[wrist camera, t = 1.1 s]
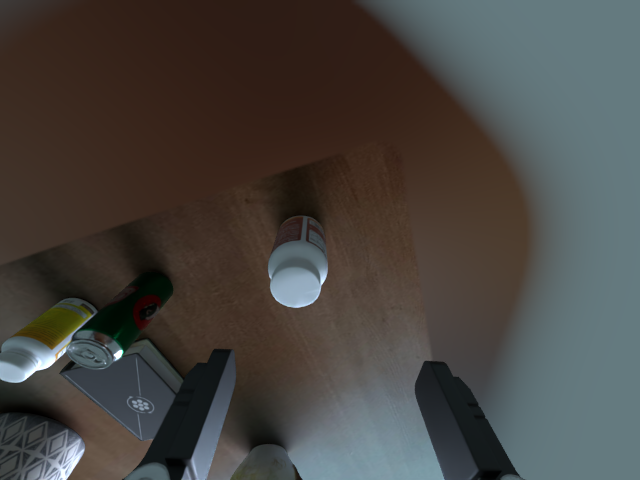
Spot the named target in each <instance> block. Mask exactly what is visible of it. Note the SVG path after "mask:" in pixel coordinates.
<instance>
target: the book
mask: <svg viewBox="0 0 640 480" xmlns="http://www.w3.org/2000/svg"><path fill="white" fill-rule="evenodd" d="M59 374H61V375H62V376H63V377H64V378H65V379H67V380H68V381H69V382H70V383H71V384H73V385H74V386H75V387H76V388H77V389H79V390H80V391H81V392H82V393H84V394H85V395H86V396H87V397H88V398H90V399H91V400H92V401H93V402H94V403H96V404H97V405H98V406H99V407H100V408H102V409H103V410H104V411H105V412H107V413H108V414H109V415H110V416H111V417H113V418H114V419H115V420H116V421H117V422H119V423H120V424H121V425H122V426H123V427H125V428H126V429H127V430H128V431H130V432H131V433H132V434H133V435H134V436H136V437H137V438H138V439H139V440H140V441H144V440H149V439H154V438H155V436H156V434H157V432H158V430H159V428H160V426H161V424H162V422H163V420H164V418H165V416H166V414H167V412H168V410H169V408H170V406H171V404H173V400H174V398H175V396H176V394H177V392H179V388H180V386H181V384H182V382H183V380H184V378H183V377H182V376H181V375H180V374H179V373H178V371H177V370H176V369H175V368H174V367H173V366H172V365H171V364H170V362H169V361H168V360H167V359H166V358H165V357H164V356H163V354H162V353H161V352H160V351H159V350H158V349H157V348H156V346H155V345H154V344H153V343H152V342H151V341H150V340H149V339H148V338H147V339H143V340H139V341H135V342H134V343H133V344H132V345H131V346H130V348H129V349H128V350H127V351H126V352H125V354H124V355H123V356H122V357H121V358H120V359H119V360H118V361H116V362H113V363H112V364H111V365H110V366H109V367H107V368H104V369H89V368H86V367H83V366H80V365H78V364H77V363H75V362H74V361H72V360H71V361H70V362H69V363H68V364H67V365H66V366H65V367H64V368H63V369H62V370H61V372H60V373H59Z"/></svg>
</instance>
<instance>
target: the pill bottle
mask: <svg viewBox="0 0 640 480" xmlns="http://www.w3.org/2000/svg"><path fill="white" fill-rule="evenodd" d="M327 271H328V266H327V254H326V241H325V233H324V230H323V228H322V226H321V225H320V224H319V223H318V222H317V221H316V220H315V219H313V218H311V217H308V216H294V217H291V218H289V219H287V220H286V221H285V222H284V223H283V224H282V225H281V226H280V228H279V230H278V233H277V236H276V240H275V243H274V246H273V249H272V252H271V255H270V259H269V263H268V272H269V276H270V278H271V283H270V289H271V293H272V295H273V296H274V298H275V299H276V300H277V301H278V302H280V303H281V304H283V305H286V306H289V307H303V306H307V305H309V304H311V303H312V302H314V301H315V300H316V299H317V297H318V296H319V294H320V291H321V285H322V283H323V282H324V280H325V278H326V276H327Z"/></svg>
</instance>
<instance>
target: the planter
mask: <svg viewBox="0 0 640 480" xmlns="http://www.w3.org/2000/svg"><path fill="white" fill-rule="evenodd" d="M84 450H85V444H84V441H83V440H82V438H81V437H80V436H79V435H78V434H77V433H76V432H75V431H74V430H72V429H71V428H69V427H68V426H66V425H64V424H62V423H60V422H58V421H56V420H53V419H50V418H47V417H43V416H40V415H35V414H29V413H20V412H9V413H1V414H0V480H66V479H67V478H68V476H69V475H70V473H71V472H72V470H73V469H74V467H75V466H76V464H77V463H78V461H79V460H80V458H81V457H82V455H83V453H84Z"/></svg>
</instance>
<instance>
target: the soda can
mask: <svg viewBox="0 0 640 480" xmlns="http://www.w3.org/2000/svg"><path fill="white" fill-rule="evenodd" d="M172 294H173V286H172V283H171V281H170V280H169V279H168V278H167V277H166V276H164V275H163V274H161V273H157V272H144V273H142V274H140V275H139V276H138V277H137V278H135V279H134V280H133V281H132V282H131V283H130V284H129V285H128V286H126V287H125V288H124V289H123V290H122V291H121V292H120V293H119V294H118V295H116V296H115V297H114V298H113V299H112V300H111V301H110V302H109V303H107V304H106V305H105V306H104V307H103V308H102V309H101V310H100V311H98V312H97V313H96V314H95V315H94V316H93V317H92V318H91V319H89V320H88V321H87V322H86V323H85V324H84V325H83V326H82V327H81V328H79V329H78V330H77V331H76V332H75V333H74V334H73V335H72V337H71V342H70V343H68V345H67V347H66V353H67V355H68V356H69V358H70V359H71V360H72V361H74V362H75V363H77V364H78V365H80V366H83V367H86V368H89V369H104V368H107V367H109V366H110V365H111V364H112V363H113V362H116V361H118V360H119V359H120V358H121V357H122V356H123V355H124V354H125V352H126V351H127V350H128V349H129V348H130V346H131V345H132V344H133V343H134V341H135V340H136V339H137V338H138V336H139V335H140V334H141V333H142V332H143V330H144V329H145V328H146V327H147V325H148V324H149V323H150V322H151V320H152V319H153V318H154V317H155V316H156V314H157V313H158V312H159V311H160V309H161V308H162V307H163V306H164V304H165V303H166V302H167V301H168V300H169V298H170V297H171V296H172Z"/></svg>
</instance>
